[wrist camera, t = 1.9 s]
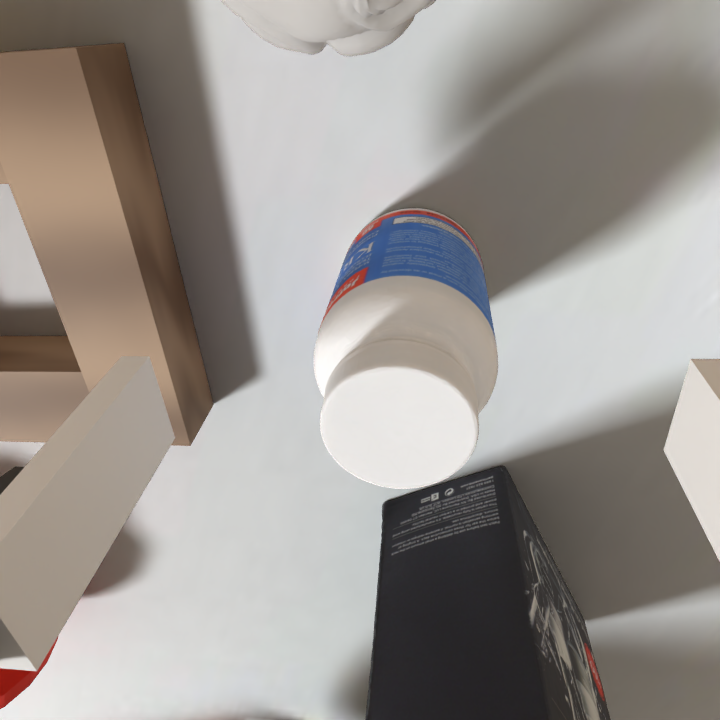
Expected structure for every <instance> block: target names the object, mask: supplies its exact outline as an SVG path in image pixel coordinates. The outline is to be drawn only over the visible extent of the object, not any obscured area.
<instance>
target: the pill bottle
mask: <svg viewBox="0 0 720 720" xmlns="http://www.w3.org/2000/svg"><path fill="white" fill-rule="evenodd" d="M314 372H315V377H316V381H317V384H318V387H319V389H320V392H321V394H322V396H323V398H324V401H323V405H322V409H321V414H320V429H321V435H322V439H323V442H324V444H325V446H326V448H327V450H328V452H329V453H330V454H331V456H332V457H333V459H334V460H335V461H336V462H337V463H338V464H339V465H340V466H341V467H342V468H344V469H345V470H346V471H348V472H349V473H351V474H352V475H354V476H355V477H357V478H359V479H361V480H363V481H366V482H368V483H371V484H374V485H378V486H381V487H388V488H395V489H411V488H420V487H424V486H429V485H432V484H435V483H438V482H440V481H442V480H445V479H447V478H448V477H450V476H451V475H453V474H454V473H456V472H457V471H458V470H459V469H460V468H462V467H463V465H464V464H465V463H466V462H467V461H468V460H469V458H470V456H471V455H472V453H473V451H474V449H475V447H476V444H477V440H478V434H479V422H478V414H479V413H480V412H481V410H482V409H483V408H484V406H485V405H486V403H487V402H488V400H489V398H490V396H491V394H492V392H493V389H494V386H495V383H496V378H497V372H498V354H497V346H496V339H495V334H494V328H493V323H492V317H491V311H490V305H489V300H488V293H487V287H486V282H485V275H484V269H483V264H482V260H481V257H480V254H479V251H478V249H477V247H476V245H475V243H474V241H473V240H472V238H471V237H470V235H469V234H468V233H467V232H466V231H465V230H464V229H463V228H462V227H461V226H460V225H459V224H458V223H457V222H455V221H454V220H452V219H451V218H449V217H447V216H445V215H443V214H441V213H438V212H435V211H432V210H428V209H421V208H406V209H400V210H395V211H392V212H389V213H386V214H384V215H382V216H380V217H378V218H376V219H375V220H373V221H372V222H370V223H369V224H368V225H367V226H365V227H364V228H363V229H362V230H361V232H360V233H359V234H358V235H357V236H356V238H355V239H354V241H353V242H352V244H351V246H350V248H349V249H348V252H347V254H346V257H345V259H344V262H343V265H342V268H341V271H340V274H339V277H338V279H337V282H336V285H335V288H334V291H333V294H332V296H331V299H330V302H329V305H328V307H327V310H326V312H325V315H324V317H323V321H322V323H321V326H320V329H319V331H318V336H317V340H316V344H315V348H314Z"/></svg>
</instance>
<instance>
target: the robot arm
mask: <svg viewBox="0 0 720 720" xmlns="http://www.w3.org/2000/svg"><path fill="white" fill-rule="evenodd" d="M174 439H175V436H174V432H173V429H172V426H171V423H170V420H169V417H168V414H167V410H166V407H165V404H164V401H163V398H162V395H161V391H160V388H159V385H158V382H157V379H156V376H155V373H154V369H153V366H152V363H151V360H150V357H149V356H121V358H120V359H119V360H118V361H117V362H116V363H115V364H114V366H113V367H112V368H111V369H110V370H109V371H108V372H107V374H106V375H105V376H104V377H103V378H102V379H101V380H100V382H99V383H98V384H97V385H96V386H95V387H94V388H93V390H92V391H91V392H90V393H89V394H88V395H87V396H86V398H85V399H84V400H83V401H82V402H81V403H80V404H79V406H78V407H77V408H76V409H75V410H74V411H73V412H72V414H71V415H70V416H69V417H68V418H67V419H66V420H65V422H64V423H63V424H62V425H61V426H60V427H59V428H58V430H57V431H56V432H55V433H54V434H53V435H52V436H51V438H50V439H49V440H48V441H47V442H46V443H45V444H44V446H43V447H42V448H41V449H40V450H39V451H38V452H37V454H36V455H35V456H34V457H33V458H32V459H31V460H30V462H29V463H28V464H27V465H26V466H25V467H14V468H13V469H11V470H10V471H8V472H7V473H6V474H4V475H3V476H1V477H0V668H4V669H15V670H27V671H38V669H39V667H40V666H41V664H42V662H43V661H44V659H45V657H46V655H47V654H48V652H49V650H50V649H51V647H52V645H53V644H54V642H55V640H56V639H57V637H58V635H59V634H60V632H61V630H62V628H63V627H64V625H65V623H66V622H67V620H68V618H69V617H70V615H71V613H72V612H73V610H74V608H75V606H76V605H77V603H78V601H79V600H80V598H81V596H82V595H83V593H84V591H85V590H86V588H87V586H88V585H89V583H90V581H91V579H92V578H93V576H94V574H95V573H96V571H97V569H98V568H99V566H100V564H101V563H102V561H103V559H104V557H105V556H106V554H107V552H108V551H109V549H110V547H111V546H112V544H113V542H114V541H115V539H116V537H117V535H118V534H119V532H120V530H121V529H122V527H123V525H124V524H125V522H126V520H127V519H128V517H129V515H130V514H131V512H132V510H133V508H134V507H135V505H136V503H137V502H138V500H139V498H140V497H141V495H142V493H143V492H144V490H145V488H146V486H147V485H148V483H149V481H150V480H151V478H152V476H153V475H154V473H155V471H156V470H157V468H158V466H159V465H160V463H161V461H162V459H163V458H164V456H165V454H166V453H167V451H168V449H169V448H170V446H171V444H172V443H173V441H174ZM664 452H665V454H666V456H667V458H668V460H669V462H670V464H671V466H672V468H673V470H674V472H675V474H676V476H677V478H678V480H679V482H680V484H681V486H682V488H683V490H684V492H685V494H686V496H687V498H688V500H689V502H690V504H691V506H692V508H693V510H694V512H695V514H696V516H697V518H698V520H699V522H700V524H701V526H702V528H703V530H704V532H705V534H706V536H707V538H708V540H709V542H710V544H711V546H712V548H713V550H714V552H715V554H716V556H717V558H718V560H719V562H720V359H690V362H689V366H688V369H687V373H686V376H685V379H684V383H683V386H682V389H681V393H680V396H679V399H678V403H677V406H676V410H675V413H674V416H673V420H672V423H671V426H670V430H669V433H668V436H667V440H666V443H665V447H664Z"/></svg>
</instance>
